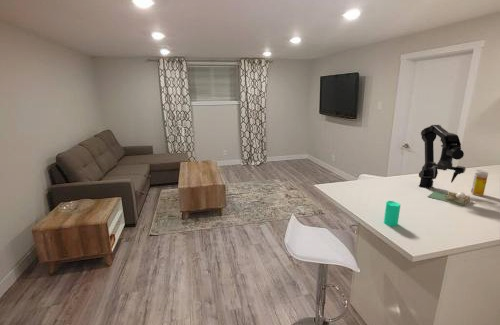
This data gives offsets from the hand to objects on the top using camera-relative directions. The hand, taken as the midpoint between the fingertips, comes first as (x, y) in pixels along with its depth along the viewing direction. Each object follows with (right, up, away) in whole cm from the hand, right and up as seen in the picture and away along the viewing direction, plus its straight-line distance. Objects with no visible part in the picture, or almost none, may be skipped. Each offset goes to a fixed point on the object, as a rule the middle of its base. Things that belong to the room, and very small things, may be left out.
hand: (442, 180), depth 159 cm
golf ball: (+7, -9, -5) cm, 12 cm away
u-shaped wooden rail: (+6, -11, -4) cm, 13 cm away
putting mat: (+3, -10, -1) cm, 11 cm away
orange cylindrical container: (+25, -9, +5) cm, 27 cm away
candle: (-48, -19, -31) cm, 60 cm away
